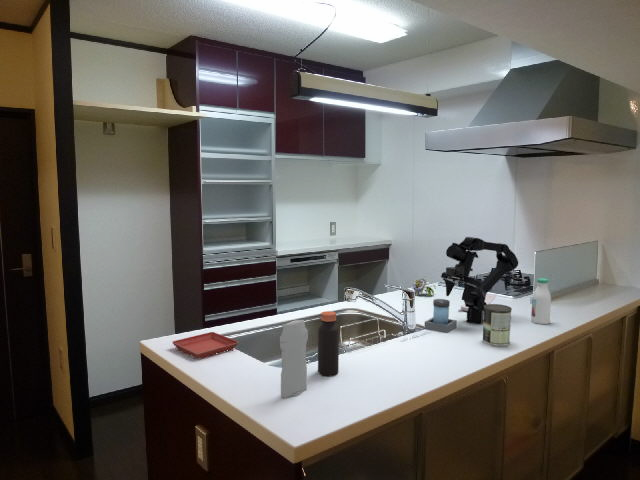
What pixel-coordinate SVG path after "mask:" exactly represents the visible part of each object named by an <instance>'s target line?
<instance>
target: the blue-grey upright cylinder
mask: <svg viewBox="0 0 640 480" xmlns="http://www.w3.org/2000/svg"><path fill="white" fill-rule="evenodd" d="M450 301H451V300H448V299H446V298H445V299H444V298H435V299H433V303H432V305H433V316H432V317H433V323H439V324H444V325H447V324H448V319H450V317H449V315H450Z"/></svg>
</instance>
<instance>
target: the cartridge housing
mask: <svg viewBox="0 0 640 480" xmlns="http://www.w3.org/2000/svg"><path fill="white" fill-rule="evenodd" d="M457 323H458V320H455V319H450V318H449V319H448V324H447V325H444V324H439V323H433V316H432V317H431V318H428V319H427V320H425V321H424V327H423V328H424V329H425V330H431V331H437V332H440V333H441V332H442V333H450V332H451V331H453V330H454V329H456V328H457V325H458V324H457Z"/></svg>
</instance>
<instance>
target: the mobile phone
mask: <svg viewBox="0 0 640 480" xmlns="http://www.w3.org/2000/svg"><path fill="white" fill-rule="evenodd" d="M496 297H497V295H494V294H489V293H486V298H485V302H486V304H492V302H493V301H494V300H495V298H496ZM468 308H469V307H466V306H465V304H463V305H461V306H460V308H459V309H458V312H467V311H468Z"/></svg>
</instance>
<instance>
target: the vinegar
mask: <svg viewBox="0 0 640 480" xmlns="http://www.w3.org/2000/svg"><path fill="white" fill-rule="evenodd" d="M320 322H321V325H319V326H318V328H317V373H318V375H321V376H324V377H334V376H336V375H338V373H339V360H340V359H339V353H340V351H339V350H340V349H339V348H340V347H339V346H340V345H339V344H340V343H339V341H340V337H339V336H340V329H339V328H340V327H339V326H337V324H336V323H337V312H335V311H331V310H329V311H327V310H326V311H322V312H320Z"/></svg>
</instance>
